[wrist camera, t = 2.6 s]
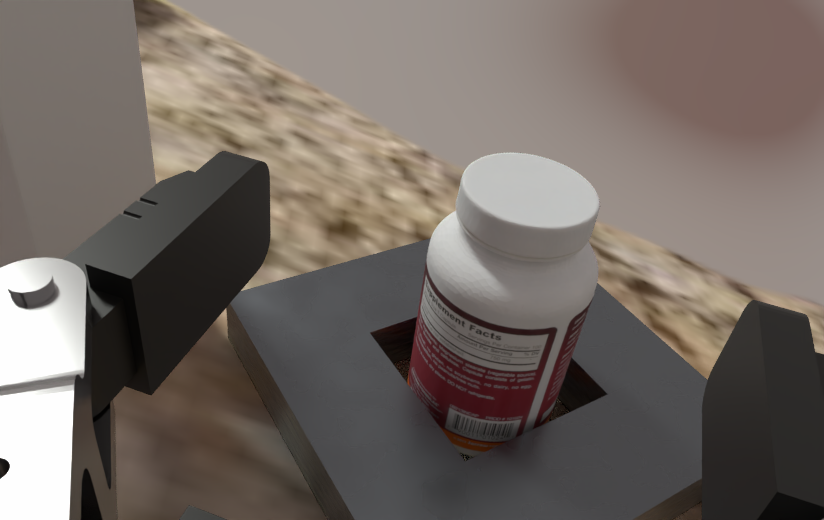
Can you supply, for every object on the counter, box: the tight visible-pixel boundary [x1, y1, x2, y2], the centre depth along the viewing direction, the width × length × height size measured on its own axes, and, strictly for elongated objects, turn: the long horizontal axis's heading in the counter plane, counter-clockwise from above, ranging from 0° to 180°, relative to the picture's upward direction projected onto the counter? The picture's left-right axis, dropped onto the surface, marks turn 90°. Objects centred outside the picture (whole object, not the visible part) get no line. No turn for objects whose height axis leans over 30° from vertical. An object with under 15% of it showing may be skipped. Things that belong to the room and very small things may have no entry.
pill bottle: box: [408, 153, 600, 457], centre depth 27 cm, size 6×6×11 cm
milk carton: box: [0, 0, 156, 268], centre depth 27 cm, size 7×7×19 cm
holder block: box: [226, 238, 708, 520], centre depth 30 cm, size 16×16×2 cm
